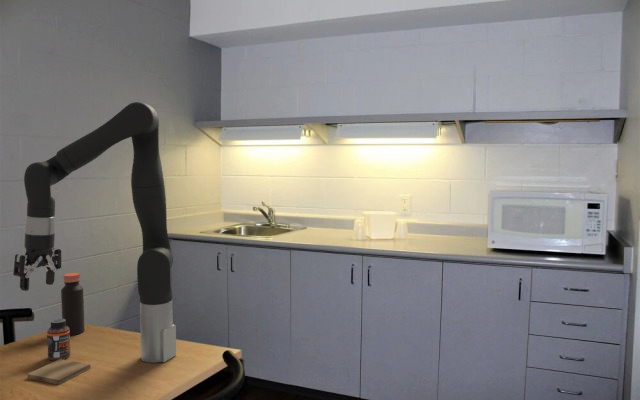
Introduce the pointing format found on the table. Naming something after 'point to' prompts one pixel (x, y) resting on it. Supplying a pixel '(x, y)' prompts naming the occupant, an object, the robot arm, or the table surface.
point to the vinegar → (73, 303)
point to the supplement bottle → (58, 340)
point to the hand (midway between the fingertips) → (37, 287)
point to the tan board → (59, 371)
